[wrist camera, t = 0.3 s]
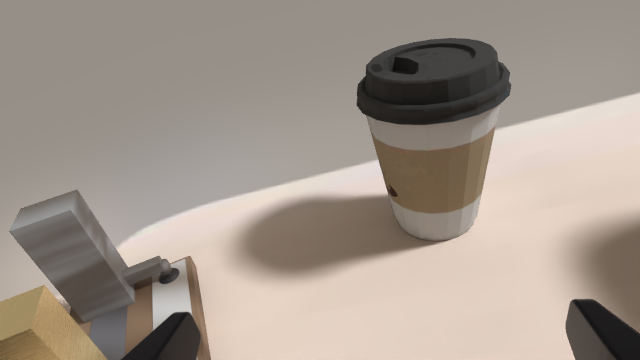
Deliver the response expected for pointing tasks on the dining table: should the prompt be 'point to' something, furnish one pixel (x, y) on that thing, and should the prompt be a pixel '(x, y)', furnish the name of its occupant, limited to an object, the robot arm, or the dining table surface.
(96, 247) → the gauge board
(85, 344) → the leg
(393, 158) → the coffee cup
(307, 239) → the dining table surface
